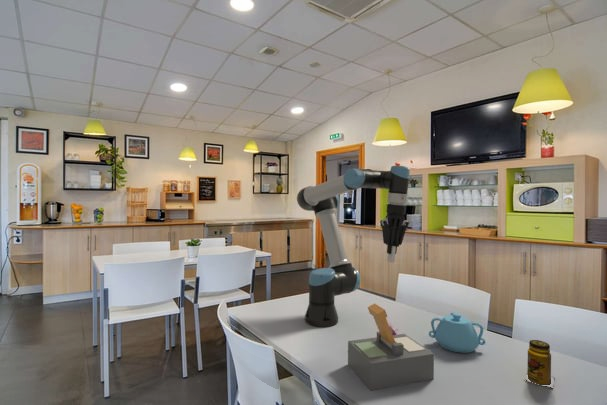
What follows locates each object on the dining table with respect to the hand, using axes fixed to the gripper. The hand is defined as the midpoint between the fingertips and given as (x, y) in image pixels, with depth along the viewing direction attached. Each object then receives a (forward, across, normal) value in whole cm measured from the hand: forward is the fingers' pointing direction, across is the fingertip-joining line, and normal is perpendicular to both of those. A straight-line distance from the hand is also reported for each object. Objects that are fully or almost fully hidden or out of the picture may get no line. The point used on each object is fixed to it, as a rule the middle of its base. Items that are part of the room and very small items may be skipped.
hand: (390, 261), depth 137 cm
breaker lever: (+22, -16, -23) cm, 36 cm away
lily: (+31, 0, -7) cm, 32 cm away
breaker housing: (+31, -16, -24) cm, 42 cm away
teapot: (+29, +21, -18) cm, 40 cm away
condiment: (+27, +25, -46) cm, 59 cm away
